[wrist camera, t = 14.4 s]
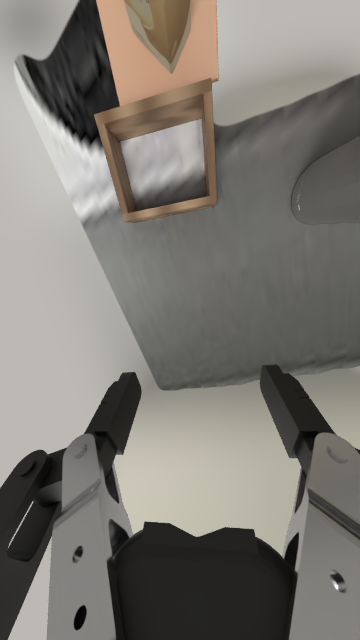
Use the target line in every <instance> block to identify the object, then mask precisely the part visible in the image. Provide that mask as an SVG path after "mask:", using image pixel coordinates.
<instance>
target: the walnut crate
mask: <svg viewBox="0 0 360 640" xmlns="http://www.w3.org/2000/svg"><path fill="white" fill-rule="evenodd" d="M94 116H95V120H96V123H97V127H98V130H99V134H100V137H101V141H102V144H103V148H104V152H105V155H106V159H107V162H108V166H109V169H110V173H111V176H112V180H113V184H114V187H115V191H116V194H117V198H118V201H119V205H120V209H121V212H122V216H123V219H124V222H132V223H135V222H140V221H145V220H150V219H155V218H160V217H165V216H170V215H175V214H180V213H185V212H190V211H195V210H200V209H204V208H209V207H214V205H215V204H216V203H217V192H216V169H215V146H214V123H213V101H212V78H208V79H205V80H202V81H199V82H196V83H192V84H189V85H186V86H183V87H180V88H177V89H173V90H170V91H167V92H164V93H161V94H158V95H154V96H151V97H148V98H145V99H142V100H139V101H135V102H132V103H129V104H126V105H123V106H120V107H117V108H113V109H110V110H107V111H104V112H101V113H98V114H94ZM201 118H202V128H203V143H204V158H205V173H206V188H207V197H202V198H198V199H193V200H188V201H184V202H179V203H174V204H169V205H165V206H160V207H155V208H151V209H146V210H141V211H136V208H135V203H134V199H133V195H132V191H131V187H130V183H129V179H128V175H127V171H126V167H125V162H124V158H123V154H122V150H121V146H120V141H123V140H127V139H130V138H134V137H137V136H141V135H144V134H148V133H152V132H155V131H159V130H162V129H166V128H169V127H173V126H176V125H180V124H183V123H187V122H190V121H194V120H198V119H201Z"/></svg>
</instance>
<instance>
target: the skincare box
mask: <svg viewBox="0 0 360 640" xmlns="http://www.w3.org/2000/svg"><path fill="white" fill-rule="evenodd" d="M190 2H191V0H124V3H125V6H126V10H127V13H128V17H129V20H130V24H131V27H132V30H133V32H134V34H135V35H136V36H137V37H138V38H139V40H140V41H141V42H142V43H143V44H144V45H145V46H146V48H147V49H148V50H149V51H150V52H151V53H152V54H153V55H154V56H155V57H156V59H157V60H158V61H159V62H160V63H161V64H162V65H163V66H164V67H165V68H166V69H167V70H168V71H169V72H170V73H171V74H172V73H173V71H174V68H175V66H176V64H177V62H178V59H179V57H180V55H181V52H182V50H183V48H184V45H185V43H186V40H187V38H188V35H189V33H190Z"/></svg>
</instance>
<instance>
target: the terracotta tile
mask: <svg viewBox="0 0 360 640" xmlns="http://www.w3.org/2000/svg"><path fill="white" fill-rule="evenodd" d="M96 1H97V6H98V10H99V15H100V19H101V24H102V28H103V32H104V37H105V41H106V46H107V50H108V55H109V59H110V64H111V68H112V72H113V77H114V81H115V86H116V90H117V95H118V99H119V103H120V106H123V105H126V104H129V103H132V102H135V101H139V100H142V99H145V98H148V97H151V96H154V95H158V94H161V93H164V92H167V91H170V90H173V89H177V88H180V87H183V86H186V85H189V84H192V83H196V82H199V81H202V80H205V79H208V78H212V83H213V82H216V81H218V79H219V74H218V40H217V8H216V0H191V2H190V33H189V35H188V38H187V40H186V43H185V45H184V48H183V50H182V52H181V55H180V57H179V59H178V62H177V64H176V66H175V68H174V71H173V73H172V74H171V73H170V72H169V71H168V70H167V69H166V68H165V67H164V66H163V65H162V64H161V63H160V62H159V61H158V60H157V59H156V57H155V56H154V55H153V54H152V53H151V52H150V51H149V50H148V49H147V48H146V46H145V45H144V44H143V43H142V42H141V41H140V40H139V38H138V37H137V36H136V35H135V34H134V32H133V30H132V27H131V24H130V20H129V17H128V13H127V10H126V6H125V3H124V0H96Z"/></svg>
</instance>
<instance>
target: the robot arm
mask: <svg viewBox="0 0 360 640" xmlns="http://www.w3.org/2000/svg"><path fill="white" fill-rule="evenodd" d="M291 206H292V211H293V213H294V216H295V217H296V218H297V219H298V220H299V221H300V222H302V223H305V224H337V223H360V136H358V137H356V138H354V139H353V140H351V141H349V142H347V143H346V144H344V145H342V146H340V147H338V148H336V149H335V150H333V151H331V152H329V153H328V154H326V155H324V156H322V157H321V158H319V159H317V160H316V161H315V162H313V163H312V164H311V165H310V166H309V167H308V168H306V170H305V171H304V172H303V173H302V175H301V176H300V178H299V179H298V181H297V183H296V185H295V188H294V190H293V194H292V201H291ZM260 388H261V392H262V394H263V397H264V399H265V401H266V404H267V406H268V409H269V411H270V413H271V416H272V418H273V420H274V423H275V425H276V428H277V430H278V432H279V435H280V437H281V439H282V442H283V444H284V446H285V449H286V451H287V453H288V456H289V458H298V460H299V462H300V465H301V471H300V476H299V481H298V486H297V492H296V497H295V502H294V507H293V513H292V517H291V520H290V523H289V527H288V531H287V535H286V540H285V545H284V550H283V555H282V556H281V555H280V554H279V553H278V552H277V551H276V550H275V549H273V548H272V547H271V546H270V545H268V544H267V543H266V542H264V541H263V540H261V539H259V538H257V537H255V532H254V530H253V529H241V528H228V527H227V528H226V527H225V528H222V529H219V530H216V531H214V532H211V533H208V534H206V535H203V536H200V537H195V536H193V535H191V534H189V533H187V532H185V531H183V530H181V529H179V528H177V527H176V526H174V525H172V524H170V523H157V522H144V528H143V530H140V531H139V532H137V533H135V534H134V535H133V533H132V529H131V525H130V521H129V518H128V515H127V513H126V510H125V508H124V506H123V502H122V498H121V493H120V489H119V484H118V480H117V475H116V471H115V467H114V463H113V461H114V458H115V455H123V453H124V449H125V447H126V443H127V440H128V437H129V433H130V430H131V427H132V424H133V421H134V417H135V414H136V411H137V407H138V404H139V401H140V398H141V386H140V383H139V381H138V378H137V376H136V373H135V372H127V373H122V374H121V376H120V378H119V380H118V381H115V382H114V383H113V384H112V385H111V386H110V387H109V388H108V390H107V392H106V394H105V396H104V398H103V399H102V401H101V404H100V405H99V407H98V409H97V411H96V413H95V415H94V417H93V418H92V420H91V422H90V424H89V426H88V428H87V430H86V432H85V433H84V434H83V435H81V436H79V437H77V438H76V439H75V440H74V441H73V442H72V443H71V444H70V445H69V446H68V447H67V448H65V449H62V450H59V451H56V452H54V453H51V454H47V453H46V452H45V451H43V450H37V451H34V452H32V453H30V454H29V455H27V456H26V457H25V458H24V459H22V460H21V461H20V462H19V463H18V464H17V466H16V467H15V468H14V470H13V471H12V472H11V474H10V475H9V477H8V478H7V480H6V481H5V482H4V484H3V485H2V487H1V488H0V640H8V637H9V635H10V633H11V630H12V628H13V626H14V623H15V621H16V619H17V616H18V614H19V612H20V609H21V607H22V605H23V602H24V600H25V597H26V595H27V593H28V590H29V588H30V586H31V583H32V581H33V579H34V576H35V574H36V572H37V569H38V567H39V565H40V562H41V560H42V558H43V555H44V553H45V551H46V548H47V546H48V543H49V541H50V539H51V536H52V548H51V567H50V586H49V607H48V627H47V640H360V450H358V449H356V448H354V447H353V446H352V445H351V444H350V443H349V442H347V441H346V440H344V439H343V438H341V437H339V436H337V435H336V434H335V433H334V432H333V430H332V429H331V427H330V426H329V425H328V423H327V422H326V420H325V419H324V417H323V416H322V415H321V413H320V412H319V410H318V409H317V407H316V406H315V404H314V403H313V402H312V400H311V399H310V398H309V396H308V394H307V393H306V392H305V391H304V389H303V388H302V386H301V384H300V383H299V382H298V380H296V379H295V378H294V377H293V376H291V375H290V374H289V373H286V374H283V372H282V371H281V369H280V368H279V366H278V365H263V366H262V370H261V378H260ZM32 501H33V502H34V503H33V504H32V506H31V508H30V510H29V512H28V513H27V515H26V517H25V519H24V521H23V522H22V525H21V526H20V528H19V530H18V532H17V533H16V535H15V537H14V539H13V541H12V543H11V545H10V546H9V543H10V541H11V539H12V537H13V535H14V534H15V532H16V530H17V528H18V526H19V525H20V523H21V521H22V519H23V517H24V515H25V514H26V512H27V510H28V508H29V506H30V505H31V503H32ZM8 546H9V548H8ZM7 549H8V550H7Z"/></svg>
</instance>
